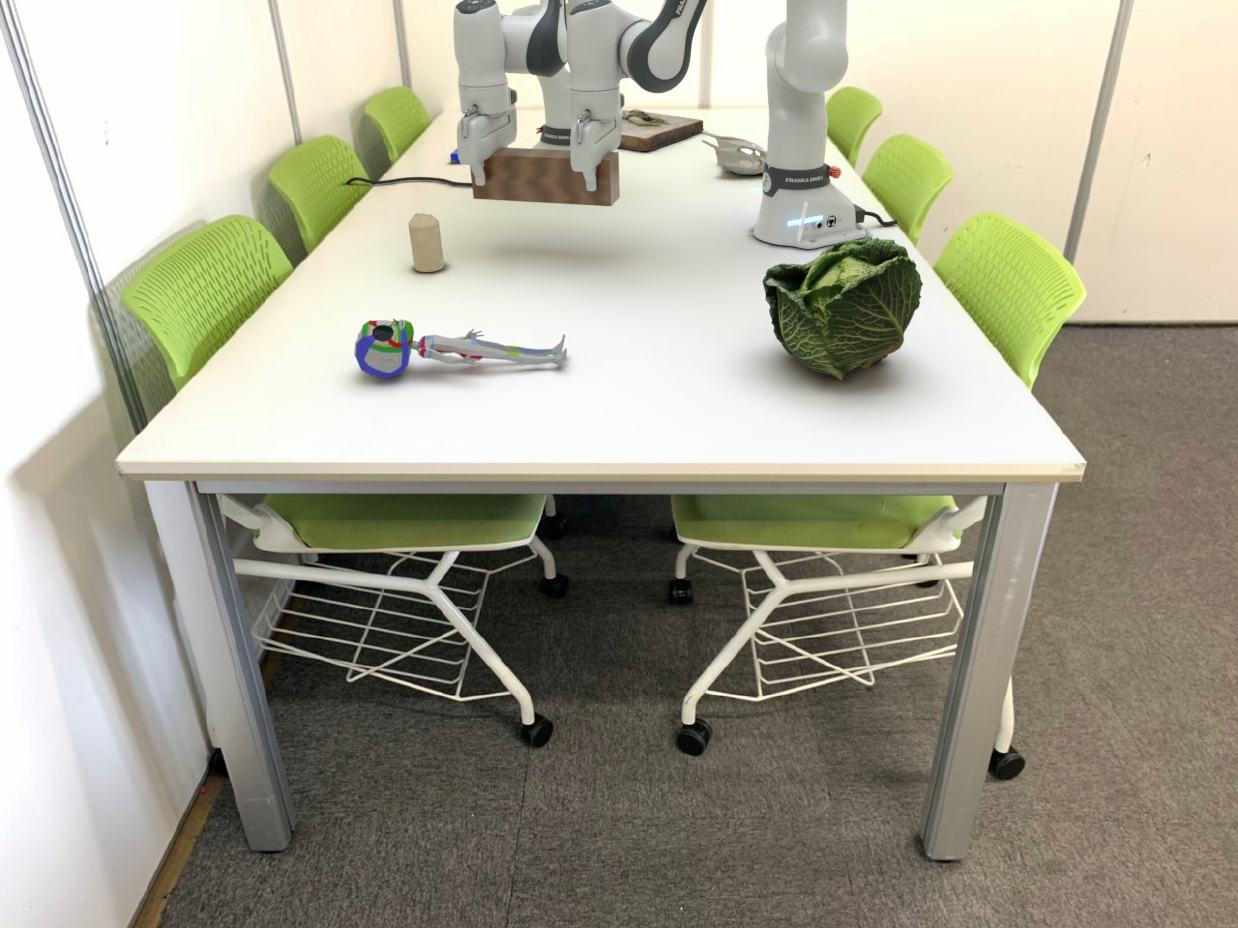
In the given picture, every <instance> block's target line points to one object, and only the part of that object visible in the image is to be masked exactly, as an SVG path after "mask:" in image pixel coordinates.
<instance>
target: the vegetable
mask: <svg viewBox="0 0 1238 928" xmlns="http://www.w3.org/2000/svg"><path fill="white" fill-rule="evenodd" d="M895 241H896V240H895V239H886V238H885V239H883V238H879V237H875V238H873V236H867V237H865V238H863V239H855V240H848V241H844V242H838V243H836V244H832V246H831V245H830V246H829V247H827V248H826V249H824V250H822V252H821V253H820V254H819V255H818V256H816V257H815V258H814V260H811V261H808V262H806V263H804V264H799V263H786V262H785V263H784V262H782V263H779V264H775V265H774V266H772V267H769V268H768V269H767V270H766V271H765V275H764V277H763V279H762V285H763V289H764V292H765V294H764V295H765V299H764V300H765V301H766V302H767V304H768V305H769V309H768V310H769V316H770V319H771V324H772V326H773V330H772V332H773V334H774V336H775V338H776V339H777V340H778V342H779V343H780V344H781V346H782V347H783V348H784V350H785V351H786V353H787V354H788V355H789V356H795V358H796V359H797V360H798V361H799V362H800V363H801V364H802V365H804V366H805V367H807V368H809V369H810V370H812V371H814V372H817V373H820V374H824V375H831V376H833V377H835V378H836V379H837V380H839V381H842V380H843V378H844V377H848V375H847V373H849V372H851V371H853V370H854V369H855V368H857V367H861V368H864V369H870V368H871V367H872V366H873V364H874V363H879V362H882V361H883V360H885V359H886V358H887V357H888V356H889V355H891V354H893V353H895V352H896V351H898V350H900V349H901V348H902V346H903V344H904V342H905V336H904V334H905V332H906V330H907V329H908V327H909V325H910V323H911V322H912V319H913V317H914V314H915V311H916V310H918V309H919V308H920V304H921V301H920V299H921V298H922V295H921V291H922V286H924V283H923V281H922V279H921V278H922V277H921V274H920V272H919V271H918V270H917V264H916V262H915V260H914V259H911V258H910V257H909V253H908V250H907V248H906V247H905V246H902V245H900V244H897V243H896V242H895Z"/></svg>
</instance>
